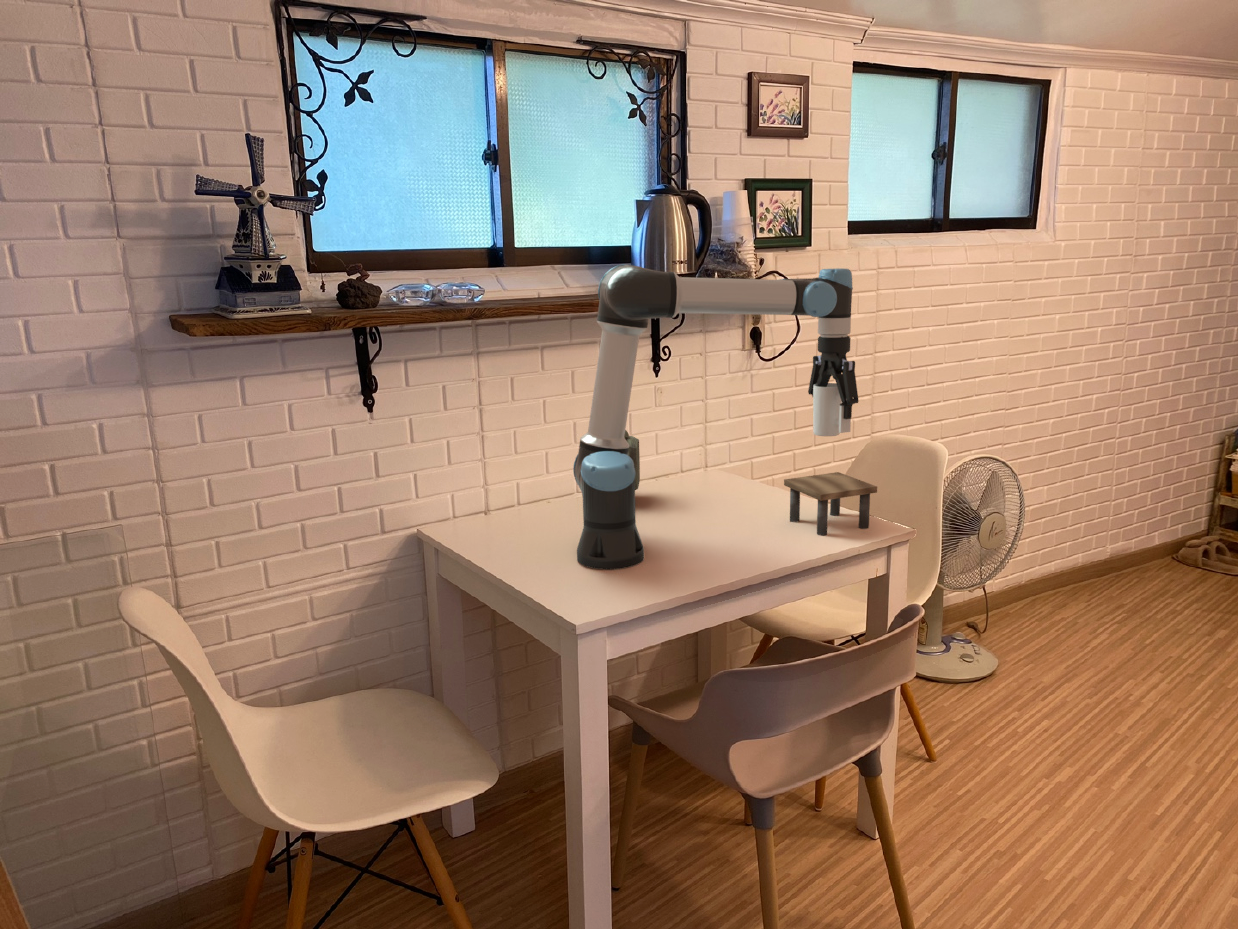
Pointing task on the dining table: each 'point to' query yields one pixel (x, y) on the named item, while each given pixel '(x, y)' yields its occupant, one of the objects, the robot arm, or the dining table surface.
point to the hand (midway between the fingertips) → (831, 428)
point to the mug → (826, 410)
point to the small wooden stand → (829, 496)
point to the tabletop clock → (634, 456)
